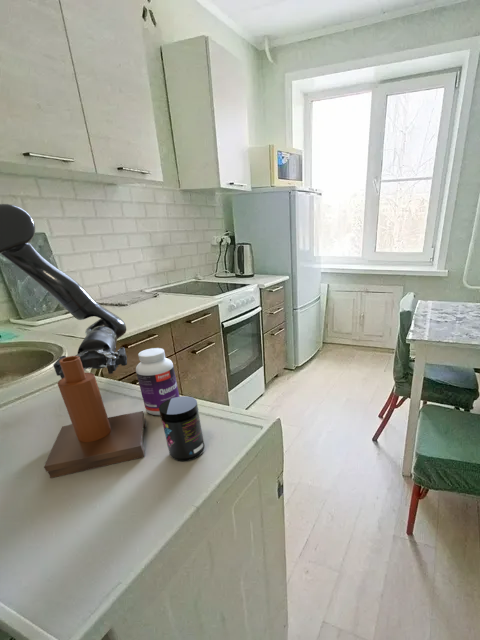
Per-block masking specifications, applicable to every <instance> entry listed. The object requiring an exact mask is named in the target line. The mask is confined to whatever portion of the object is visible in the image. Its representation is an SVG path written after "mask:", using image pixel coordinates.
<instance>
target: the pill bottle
mask: <svg viewBox="0 0 480 640" xmlns="http://www.w3.org/2000/svg"><path fill="white" fill-rule="evenodd" d="M137 356H138V360H139V361H140V362H138V364H137V365H136V367H135V373H136V377H137V381H138V385H139V388H140V393H141V395H142V396H141V397H142V401H143V406H144V409H145V411H146V413H148V414H149V415H152V416H160V412H159V406H160V405H161V404H162V403H163V402H165V401H167V400H169V399H171V398H175V397H180V393H179V388H178V382H177V377H176V373H175V372H176V371H175V368H174V363H173V361H172V360H171V359H170V358H167V357H166V353H165V349H164V348H161V347H151V348H146V349H144V350H141V351H139V353H138V354H137Z"/></svg>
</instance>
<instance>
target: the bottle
mask: <svg viewBox="0 0 480 640" xmlns="http://www.w3.org/2000/svg"><path fill="white" fill-rule="evenodd" d="M59 363H60V366H61V368H62V371H63V374H64V378H62V379H61V378H60V379H59V380H58V382H57V383H56V384H57V387H58V390H59V392H60V395H61V397H62V400H63V403H64V406H65V408H66V411H67V413H68V416H69V419H70V421H71V425H73V427H74V430H75V433H76V436H77V438H78V440H79V441H81V442H92V441H96V440H99V439H101V438H103V437H105V436H107V435H108V434H109V433H110V431H111V427H110V423H109V420H108V418H109V417H108V413H107V411H106V408H105V404H104V401H103V397H102V395H101V391H100V388H99V385H98V382H97V378H96V376H95V374H94V373H93V372H85V370H84V369H83V366H82V363H81V359H80V357H79V356H75V355H69V356H66V357H65V358H63V359H61V360H60V361H59Z"/></svg>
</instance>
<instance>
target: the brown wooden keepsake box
mask: <svg viewBox="0 0 480 640" xmlns="http://www.w3.org/2000/svg"><path fill="white" fill-rule="evenodd" d="M108 420H109V423H110V427H111V431H110V433H109V434H108V435H107V436H105V437H103V438H101V439H99V440H96V441H92V442H81V441H79V440H78V438H77V436H76V433H75V430H74V427H73V425H72V424H68V425H62V426H61V427H60V429H59V432H58V435H57V436H56V439H55V441H54V443H53V445H52V448H51V450H50V452H49V454H48V456H47V459H46V461H45V462H44V465H43V469H44V470H45V472H46V473H48V476H49V478H50V479H53V478H57V477H62V476H66V475H70V474H74V473H75V474H76V473H79V472H84V471H89V470H92V469H93V470H94V469H97V468H102V467H105V466H110V465H115V464H119V463H124V462H129V461H134V460H138V459H143V458H145V457H146V455H145V454H146V453H145V451H146V450H145V446H144V429H146V428H147V422H146V419H145V413H144V410H141V411H140V410H139V411H136V412H129V413H125V414H124V413H123V414H120V415H115V416H109V417H108Z"/></svg>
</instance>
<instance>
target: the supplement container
mask: <svg viewBox="0 0 480 640" xmlns="http://www.w3.org/2000/svg"><path fill="white" fill-rule="evenodd" d="M159 412H160V415H159V416H160V419H161V423H162V427H163V431H164V435H165V441H166V445H167V448H168V453H169V456H170V457H171V458H172V459H173V460H175V461H178V462H188V461H192V460H194V459H196V458H198V457H200V456H201V455H202V454H203V453H204V450H205V439H204V434H203V429H202V424H201V418H200V413H199V406H198V400H197V399H196V398H195V397H193V396H187V395H185V396H183V395H182V396H179V397H175V398H171V399H169V400H167V401H165V402H163V403H162V404H161V405H160V406H159Z"/></svg>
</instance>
